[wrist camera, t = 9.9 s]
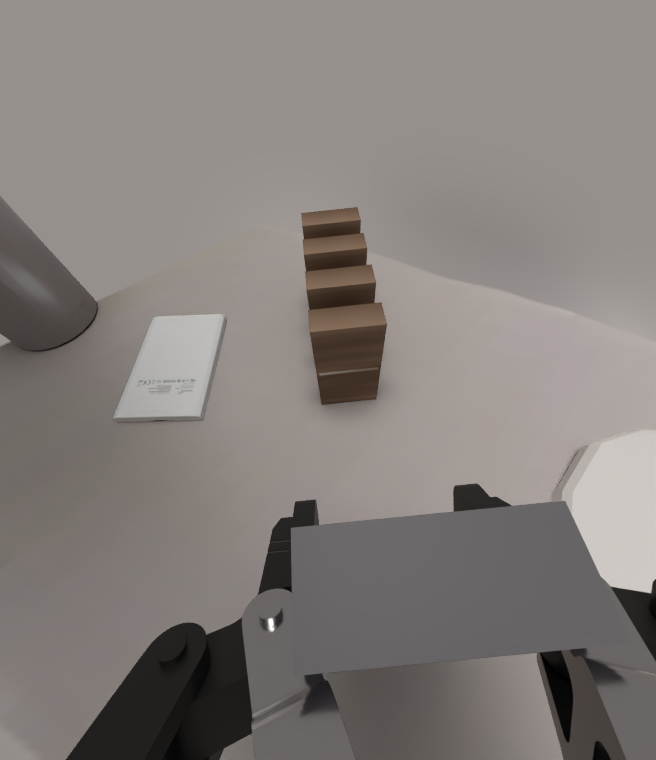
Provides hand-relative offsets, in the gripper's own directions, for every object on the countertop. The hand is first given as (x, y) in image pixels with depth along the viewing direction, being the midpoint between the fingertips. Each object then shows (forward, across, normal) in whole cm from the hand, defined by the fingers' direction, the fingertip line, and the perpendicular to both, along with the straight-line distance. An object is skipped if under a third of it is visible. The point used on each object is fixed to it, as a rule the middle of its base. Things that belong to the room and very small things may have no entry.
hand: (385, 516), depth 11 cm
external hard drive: (+23, +17, -3) cm, 28 cm away
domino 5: (+2, 0, +4) cm, 5 cm away
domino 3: (+21, 0, -2) cm, 22 cm away
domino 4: (+18, 0, 0) cm, 18 cm away
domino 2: (+24, 0, -5) cm, 25 cm away
